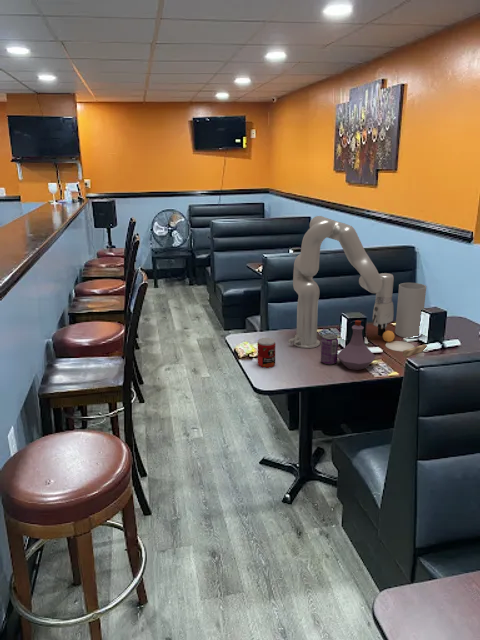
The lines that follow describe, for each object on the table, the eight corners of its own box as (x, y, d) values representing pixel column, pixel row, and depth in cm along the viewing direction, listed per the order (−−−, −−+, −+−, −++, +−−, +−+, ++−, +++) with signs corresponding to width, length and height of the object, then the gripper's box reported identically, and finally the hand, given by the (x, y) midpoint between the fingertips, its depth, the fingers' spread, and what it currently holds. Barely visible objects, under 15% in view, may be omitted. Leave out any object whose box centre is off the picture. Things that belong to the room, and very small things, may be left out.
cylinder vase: (423, 339, 242) (428, 289, 234) (396, 338, 244) (400, 288, 236) (419, 330, 254) (424, 283, 246) (393, 329, 256) (397, 282, 248)
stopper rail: (405, 356, 221) (405, 351, 221) (402, 355, 223) (403, 350, 222) (426, 350, 228) (427, 345, 227) (423, 349, 229) (424, 344, 229)
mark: (401, 353, 225) (401, 353, 225) (379, 345, 236) (379, 344, 236) (420, 347, 232) (420, 347, 231) (398, 339, 242) (398, 339, 242)
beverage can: (338, 360, 219) (339, 334, 216) (335, 366, 213) (337, 339, 209) (322, 358, 222) (323, 332, 218) (319, 364, 215) (320, 338, 211)
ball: (379, 339, 241) (388, 344, 237) (381, 329, 238) (390, 334, 234) (386, 338, 244) (395, 342, 240) (389, 327, 242) (398, 332, 238)
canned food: (263, 369, 211) (263, 345, 208) (254, 363, 218) (254, 339, 214) (278, 366, 214) (279, 342, 211) (269, 359, 221) (269, 336, 218)
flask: (333, 358, 222) (335, 315, 215) (371, 358, 221) (374, 315, 214) (338, 373, 206) (340, 327, 200) (378, 373, 205) (382, 327, 199)
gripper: (378, 303, 230) (376, 341, 236) (400, 298, 238) (397, 334, 244) (366, 300, 236) (364, 336, 242) (388, 295, 244) (385, 330, 250)
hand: (381, 335), depth 243 cm, fingers closed
